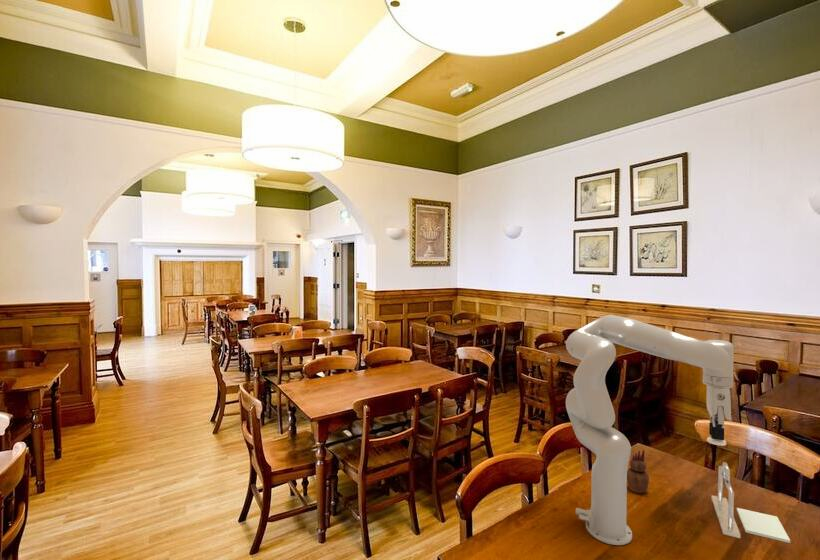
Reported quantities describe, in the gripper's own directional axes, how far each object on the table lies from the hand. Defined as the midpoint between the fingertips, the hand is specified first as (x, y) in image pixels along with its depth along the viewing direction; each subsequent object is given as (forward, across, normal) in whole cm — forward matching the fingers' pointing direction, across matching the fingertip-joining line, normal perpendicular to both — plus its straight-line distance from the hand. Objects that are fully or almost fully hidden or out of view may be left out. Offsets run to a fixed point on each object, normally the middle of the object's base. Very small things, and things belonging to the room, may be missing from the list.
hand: (716, 436), depth 128 cm
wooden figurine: (+25, +4, +22) cm, 34 cm away
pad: (+25, 0, -12) cm, 28 cm away
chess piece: (+2, 0, 0) cm, 2 cm away
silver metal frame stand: (+25, 0, -2) cm, 25 cm away
